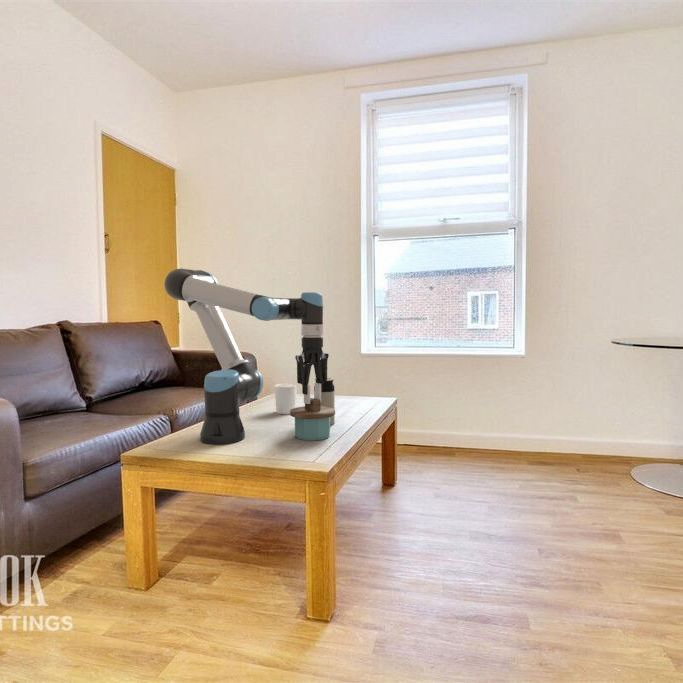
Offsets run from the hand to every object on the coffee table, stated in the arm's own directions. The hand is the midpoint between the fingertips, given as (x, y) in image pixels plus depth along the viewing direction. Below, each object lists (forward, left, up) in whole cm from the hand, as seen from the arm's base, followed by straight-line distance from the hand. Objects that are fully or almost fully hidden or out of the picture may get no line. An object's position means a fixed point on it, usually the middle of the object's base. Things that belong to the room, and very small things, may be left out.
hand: (312, 402), depth 167 cm
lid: (0, 0, -4) cm, 4 cm away
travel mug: (-11, +15, -12) cm, 22 cm away
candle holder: (-38, +16, -12) cm, 43 cm away
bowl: (0, 0, -12) cm, 12 cm away
